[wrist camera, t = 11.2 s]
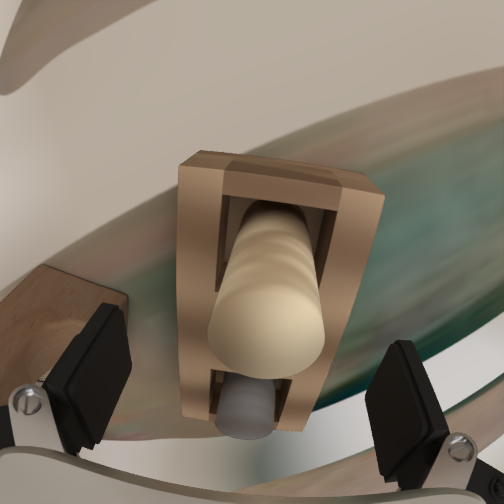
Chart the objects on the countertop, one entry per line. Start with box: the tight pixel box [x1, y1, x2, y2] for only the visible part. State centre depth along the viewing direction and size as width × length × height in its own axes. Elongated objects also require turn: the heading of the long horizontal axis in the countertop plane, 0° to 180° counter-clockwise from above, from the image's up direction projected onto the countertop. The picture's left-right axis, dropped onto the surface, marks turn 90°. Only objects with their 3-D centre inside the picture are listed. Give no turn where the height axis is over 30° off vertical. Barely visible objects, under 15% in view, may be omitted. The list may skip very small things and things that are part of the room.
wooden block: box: [0, 265, 128, 406], centre depth 17 cm, size 9×4×18 cm, turn 75°
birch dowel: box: [207, 199, 325, 379], centre depth 15 cm, size 4×4×10 cm
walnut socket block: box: [176, 150, 385, 440], centre depth 20 cm, size 20×10×7 cm, turn 173°
